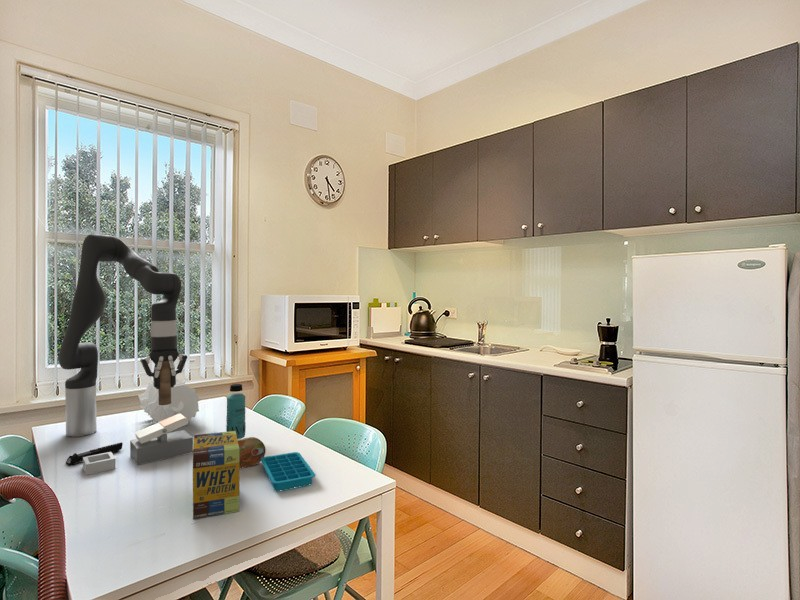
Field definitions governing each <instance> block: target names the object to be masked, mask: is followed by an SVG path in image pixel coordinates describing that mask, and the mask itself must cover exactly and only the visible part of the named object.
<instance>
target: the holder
mask: <svg viewBox="0 0 800 600" xmlns="http://www.w3.org/2000/svg"><path fill="white" fill-rule="evenodd" d="M82 468H83V471H84V474H85V475H86V476H87V475H92V474H93V475H94V474H96V473H97V474H98V473H101V472H105V471H110V470H113V469H116V457H115V456H114V454H113V453H112V452H107V453H102V454H97V455H92V456H87V457H83V461H82Z"/></svg>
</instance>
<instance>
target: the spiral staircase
mask: <svg viewBox="0 0 800 600" xmlns="http://www.w3.org/2000/svg"><path fill="white" fill-rule="evenodd" d="M196 391H197V390H196V389H195V388H194V387H193V388H192V387H190V386H188V385H187V384H186V382H185V381H182V380H179V379H176V384H175V385H174V387H171V404H168V405H159V392H158V389H156V388H155V387H154V382H151V383H148V385H147V387H146V389H145V391H144V393H141V394H138V395H137V396H138V398H139V402H140V403H141V405H140V406H139V407H140V409H143V410H144V411H143V412H144V413H146V414H147V416H149V417H150V418H151V419H152V422H154V423H159V422H160V421H162V420H165V419H167V418H170V417H172V416H174V415H177V414H179V413H180V414H182V415H183V416H184V417H186V418H187V422H188V423H189V422H190V420H191V419H192V418H196V416H197V412H200V409H199V407H200V406H199V402H200V400H201V398H200V397H199V396H198V395H197V393H196ZM184 426H186V425H184Z"/></svg>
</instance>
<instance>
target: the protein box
mask: <svg viewBox="0 0 800 600" xmlns="http://www.w3.org/2000/svg"><path fill="white" fill-rule="evenodd" d="M239 463H240V455H239V445H238V440H237V435H236V431H229V432H227V431H222V432H210V433H201V434H194V436H193V453H192V520H198V519H203V518H204V519H205V518H208V517H214V516H219V515H226V514H231V513H232V514H233V513H238V512H240V468H239Z"/></svg>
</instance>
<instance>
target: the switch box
mask: <svg viewBox="0 0 800 600" xmlns="http://www.w3.org/2000/svg"><path fill="white" fill-rule="evenodd" d="M129 443H130V445H129V446H130V447H129V448H130V449H129V450H130V453H129V455H130V457H131V459H132V460H133V462H134V463H135V464H136V465H137V466H139V465H144V464H149V463H153V462H158V461H161V460H165V459H166V458H167V459H171V458H174V457H179V456H184V455H188V454H193V443H194V436H192V435H191V434H189V433H188V432H187V431H186V430H185V429H181V430H177V431H170V432H168V433H166V434H163V435H161V436H159V437H156V438H154V439H152V440H150V441H147V442H145V443H143V444H141V443H140V442H139V440H138V439H137V438H135V439H130V440H129Z"/></svg>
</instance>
